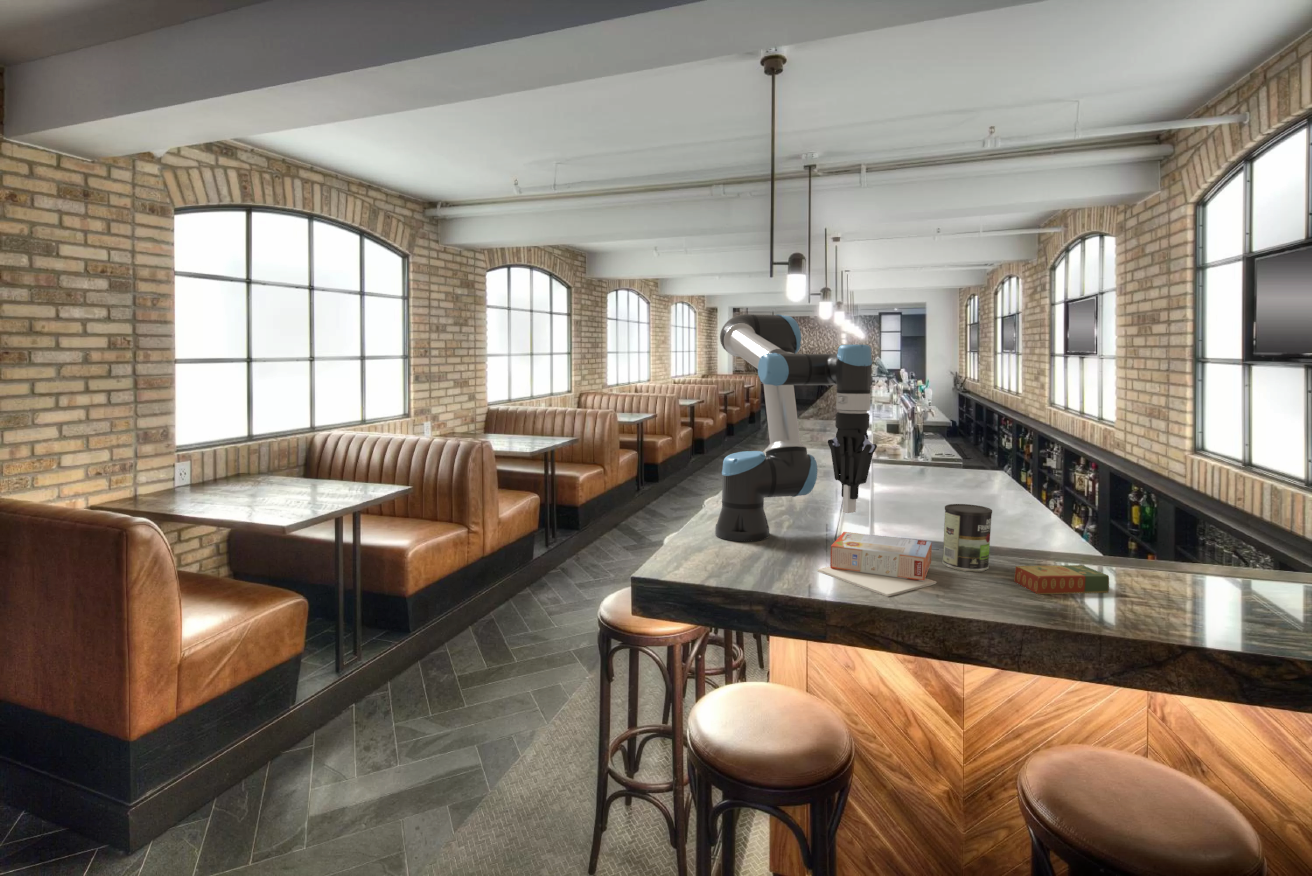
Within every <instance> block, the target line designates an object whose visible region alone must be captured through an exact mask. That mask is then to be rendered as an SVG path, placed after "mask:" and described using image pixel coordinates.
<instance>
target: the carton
mask: <svg viewBox="0 0 1312 876" xmlns="http://www.w3.org/2000/svg"><path fill="white" fill-rule="evenodd" d="M1014 570H1015V571H1014V579H1013V580H1014V581H1013V582H1014V583H1015V582H1016V583H1015V584H1017V583H1018V584H1017V585H1019V584H1020V586H1021V585H1022V586H1021V587H1023V588H1025V587H1026V588H1025V589H1026V590H1028V589H1029V591H1030V590H1031V591H1030V592H1032V591H1033V592H1032V593H1034V592H1035V593H1034V594H1037V595H1059V594H1060V595H1063V594H1064V595H1065V594H1067V595H1068V594H1069V595H1070V594H1108V593H1109V591H1110V577H1109V575H1108V574H1105V573H1103V572H1101V571H1098V570H1096V569H1093V568H1091V567H1088V566H1085V565H1082V564H1074V565H1073V564H1072V565H1071V564H1066V565H1065V564H1063V565H1062V564H1061V565H1016V566H1015V569H1014Z"/></svg>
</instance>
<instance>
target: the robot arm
mask: <svg viewBox="0 0 1312 876" xmlns="http://www.w3.org/2000/svg"><path fill="white" fill-rule="evenodd" d="M719 341H720V344H721V347H722V349H724V350H725V351H726V352H727V354H729V355H731V356H733V357H738V358H741V359H743V360H744V361H746V362H747V363H749V364H750V365H751V366H753V367H754V368H755V369H757V375H758V378H759V380H760V382H761V383H762V384H763V392H764V401H765V411H766V418H767V429H768V436H769V447H767V449H766V450H765V452H763V451H760V450H751V451H750V450H747V451H746V450H744V451H738V452H734V453H731V454H728V455H727V456H725V457H724V458H723V461H722V470H721V476H722V477H721V479H722V480H721V482H722V485H721V489H722V491H721V509H720V513H719V516H718V519H717V523H716V524H715V531H714V532H715V533H714V534H715V536H716V537H718V538H721V539H722V540H728V541H734V542H757V541H764V540H767V539H768V538H770V526H769V524H768V519H767V516H766V513H765V508H764V507H765V505H764V504H765V503H764V501H765V498H782V497H784V498H785V497H792V498H796V497H800V496H801V497H802V496H806V495H808V494H810V493H811V492H812V491H813V489H814V488H815V485H816V484H817V479H818V463H817V460H816V459H815V456H814V455H811V454H809V453H808V450H807V446H806V445H804V444H803V443H802V442H801V436H800V429H799V428H800V427H799V420H798V412H797V402H796V395H795V386H836V401H835V403H836V404H835V406H836V407H835V408H836V410H837V411H838V412H836V414H835V429H837V431H836V433H835V437H833V438H832V439H830V438H829V439H828V440H827V444H828V446H829V449H830V454H831V455H830V456H831V460H832V467H833V469H832V470H833V476H834V480H835V481H838V482H840V484H841V492H840V493H841V497H842V513H844V514H852V513H856V511H857V510H856V509H857V507H856V506H857V505H856V504H857V500H858V498H859V487H860V485H862V484H863V485H864V484H866V483H867V480H868V476H869V472H870V466H871V464H872V459H873V456H874V453H875V451H876V450H877V448H878V445H877V444H876V443H872V442H871V440H869V435H868V429H869V428H870V414H869V412H868V411H870V410H871V389H872V388H871V386H872V385H871V383H872V369H873V368H872V366H873V360H872V347H871V346H870V345H869V344H841V345H839V347H838V348H837V353H798V352H799V351H800V350H801V346H802V343H801V342H802V331H801V328H800V326H799V323H798V322H797V320H796V319H795V318H794V317H792V316H790V315H785V314H784V315H782V314H777V313H776V314H747V313H745V314H739V315H735V316H734V317H731V318H730V319H729V320H727V321H726V322H725V323H724V325H723V326H722V328H721V330H720V334H719Z"/></svg>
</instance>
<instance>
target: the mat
mask: <svg viewBox="0 0 1312 876" xmlns="http://www.w3.org/2000/svg"><path fill="white" fill-rule="evenodd" d="M816 571H817V572H819V573H821V574H824V575H827V576H829V577H832V578H834V579H837V580H840V581H842V582H843V581H844V582H846V583H849V584H851V585H854V586H857V587H860V588H863V589H865V590H867V591H870V592H873V593H876V594H879V595H881V596H884V597H892V596H896V595H900V594H903V593H907V592H910V591H914V590H919V589H921V588H926V587H930V586H933V585H937V581H936V580H933V579H929V578H925V580H924V581H919V580H912V579H905V578H898V577H891V576H884V575H877V574H869V573H862V572H855V571H848V570H841V569H834V568H831V567H830V566H826V567H821V568H818V569H817V570H816Z"/></svg>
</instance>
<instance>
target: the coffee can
mask: <svg viewBox="0 0 1312 876" xmlns="http://www.w3.org/2000/svg"><path fill="white" fill-rule="evenodd" d="M992 515H993V509H991V508H989V507H986V506H982V505H975V504H966V503H951V504H946V505H944V525H943V526H944V527H943V544H942V545H943V547H942V549H943V551H942V565H943V566H945V567H948V568H949V569H953V570H957V571H964V572H971V573H972V572H978V573H979V572H985V570H986V571H987V569H988V570H989V568H990V567H989V562H990V561H989V560H990V546H991V545H990V542H991V531H992V529H991V528H992Z"/></svg>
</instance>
